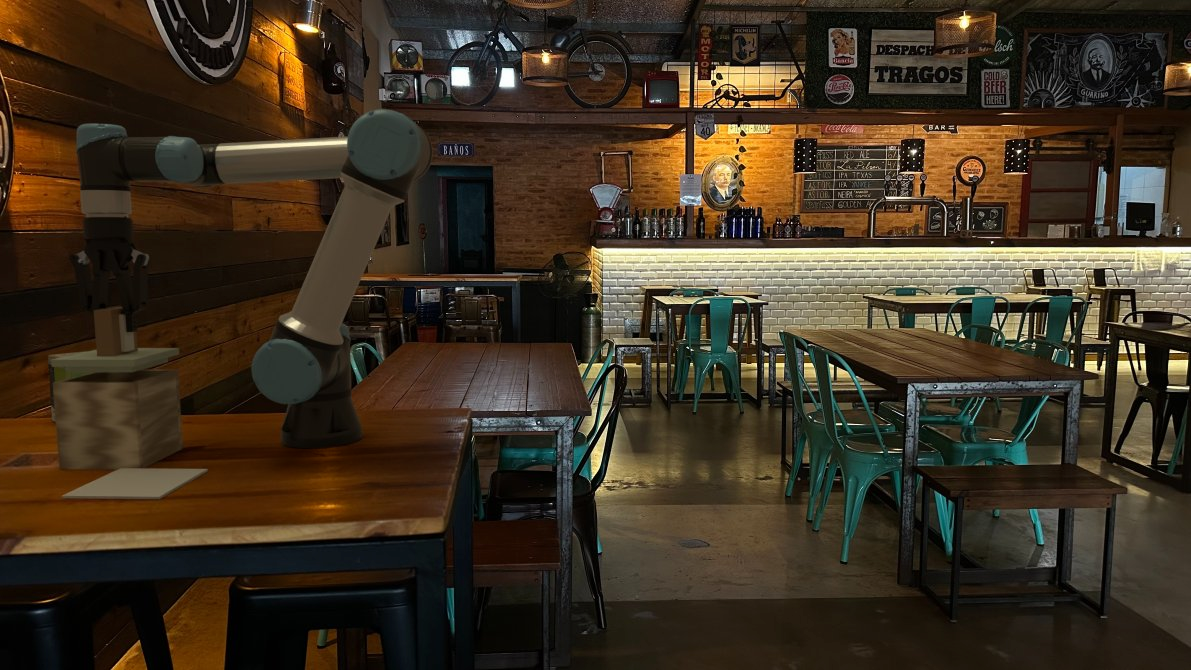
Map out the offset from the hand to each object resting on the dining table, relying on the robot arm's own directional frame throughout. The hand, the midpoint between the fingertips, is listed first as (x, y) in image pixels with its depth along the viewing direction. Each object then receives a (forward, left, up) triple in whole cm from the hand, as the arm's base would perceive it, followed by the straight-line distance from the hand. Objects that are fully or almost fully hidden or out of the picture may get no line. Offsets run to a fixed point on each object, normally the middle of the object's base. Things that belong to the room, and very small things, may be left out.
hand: (117, 350), depth 145 cm
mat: (-11, +15, -20) cm, 27 cm away
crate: (0, 0, -20) cm, 20 cm away
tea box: (+25, -28, -20) cm, 42 cm away
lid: (0, 0, -3) cm, 3 cm away
